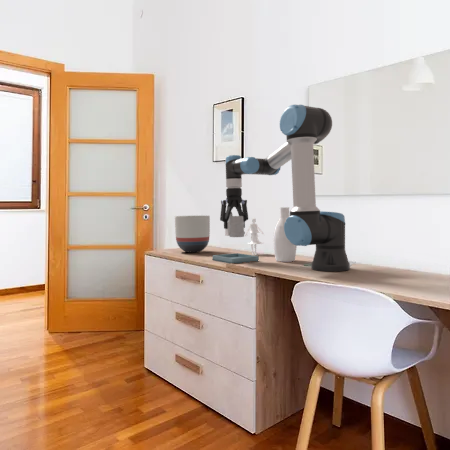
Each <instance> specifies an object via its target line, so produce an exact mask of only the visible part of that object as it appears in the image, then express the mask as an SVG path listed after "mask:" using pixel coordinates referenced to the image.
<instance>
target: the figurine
mask: <svg viewBox="0 0 450 450" xmlns="http://www.w3.org/2000/svg"><path fill="white" fill-rule="evenodd" d="M251 220H252V221H251V223H250V225H249V226H248V229H247V230H246V232H245V234H244V237H247V236H248V233H250V235H249V237H250V239H251V241H250V242H247V243H246V244H249V245H250V246H251V255H254V256H258V252H257V245H262V244H264V242H261V241H260V240H259V239H258V237H259V235H258V233H261V234H262V235H263V236H265V234H264V232H263V231H262V229H261V228H260V227H259V226H258V224H257V223H256V218H255V217H253V218H251Z"/></svg>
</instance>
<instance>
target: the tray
mask: <svg viewBox="0 0 450 450" xmlns="http://www.w3.org/2000/svg"><path fill="white" fill-rule="evenodd" d="M259 258H260V257H259V255H252V254H245V253H239V252H238V253H237V252H236V253H226V254H224V253H223V254H215V255H214V254H213V255H212V261H216V262H219V263H226V264H230V263H237V264H243V263H242V262H246V263H251V262H250V261H256V262H259V261H260V259H259ZM258 260H259V261H258Z"/></svg>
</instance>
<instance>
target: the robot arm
mask: <svg viewBox="0 0 450 450" xmlns="http://www.w3.org/2000/svg"><path fill="white" fill-rule="evenodd" d="M332 127H333V119H332V116H331V114H330V113H329V112H328V111H327V110H325V109H324V108H321V107H314V106H309V105H304V104H291V105H289V106H288V107H286V108H285V109H284V111H283V113H282V114H281V116H280V119H279V129H280V131H281V133H282V134H283V135H285V136H286V142H284V143H283V144H282V145H280V147H278V148H277V149H276V150H275V151H273V152H272V153H270V154H269V155H268V156H266V157H265V158H256V157H254V156H251V157H250V156H247V157H243V158H242V156H241V155H238V154H237V155H235V154H231V155H227V156H226V157H225V163H224V164H225V165H224V166H225V187H226V189H225V190H226V191H225V195H226V198H225V199H221V200H220V204H221V206H220V207H221V208H220V217H219V220H220V221H221V222H223V229H224V234H225V235H224V236H227V237H230V222H228V220H229V217H230V214H231V212H232V210H233V209H234V208H235V209H236V211H237V214H238V216H243V222H244V229H245V228H246V222H247V221H248V220H249V213H248V207H247V206H248V205H247V203H248V200H247V199H243V198H242V195H243V192H242V191H243V189H242V186H243V183H242V180H243V179H242V175H262V176H263V175H264V176H276V175H278V174H279V173H280V171H281V168H282V167H283V166H284V165H285V164H287V163H288V162H290V161H291V179H292V181H291V183H292V201H293V202H292V203H293V204H292V205H293V207H292V208H291V209H290V210H289V217H288V218H287V219H286V222H285V224H284V231H285V235H286V237H287V239H288V240H289V241H290V242H291V243H292V244H294V245H297V246H303V247H307V246H311V245H312V246H313V245H314V246H315V252H314V254H313V258H312V259H313V260H312V262H311V269H312V270H314V271H321V272H344V271H349V270H350V269H351V264H350V261H349V259H348V256H347V255H348V254H347V252H346V220H345V219H346V218H345V215H344V214H343V213H340V212H336V211H323V210H321V209H320V208H318V206H317V204H316V180H315V179H316V177H315V155H314V154H315V153H314V145H318V144H319V143H320V142H322V141H323V140H325V138H327V136H329V134H330V133H331V130H332Z"/></svg>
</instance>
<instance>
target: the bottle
mask: <svg viewBox="0 0 450 450" xmlns="http://www.w3.org/2000/svg"><path fill="white" fill-rule="evenodd" d="M289 216H290V207H288V206H287V207H284V206H283V207H279V219H278V220H277V222H276V224H275V228H274V231H273V238H272V240H273V241H272V242H273V251H274V252H273V253H274V257H275V261H276V262H278V261H281V262H280V263H290V262H291V263H293V262H295V260H296V256H297V255H296V254H297V248H298V247H297V245H294V244H292V243H291V242H290V241H289V240H288V239H287V237H286V235H285V231H284V224H285V222H286V219H287V218H288V217H289ZM292 261H293V262H292Z"/></svg>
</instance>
